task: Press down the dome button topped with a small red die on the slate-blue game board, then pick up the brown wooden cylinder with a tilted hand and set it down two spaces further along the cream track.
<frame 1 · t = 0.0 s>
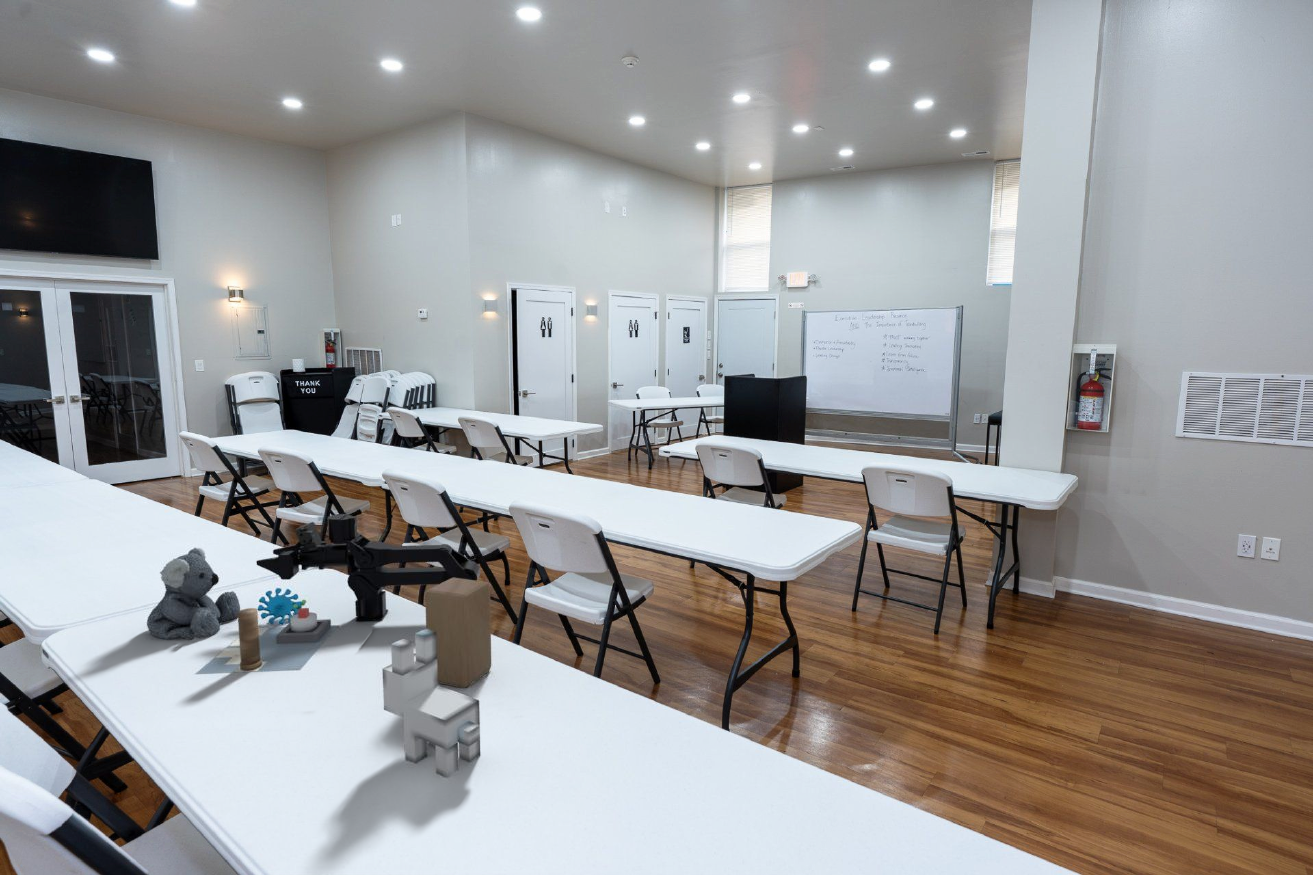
hand: (265, 557, 171), 17 cm above the table, tool horizontal, fingers open, 9 cm apart
brown wooden cylinder: (251, 666, 146), point 1 cm above the table, touching board
board: (273, 650, 156), on the table
toy llama: (437, 755, 117), on the table
blue spiky piece: (283, 620, 174), on the table
dome button: (303, 618, 162), point 5 cm above the table, slide at 0.0 cm
block: (460, 676, 145), on the table
koala plush: (190, 629, 168), on the table
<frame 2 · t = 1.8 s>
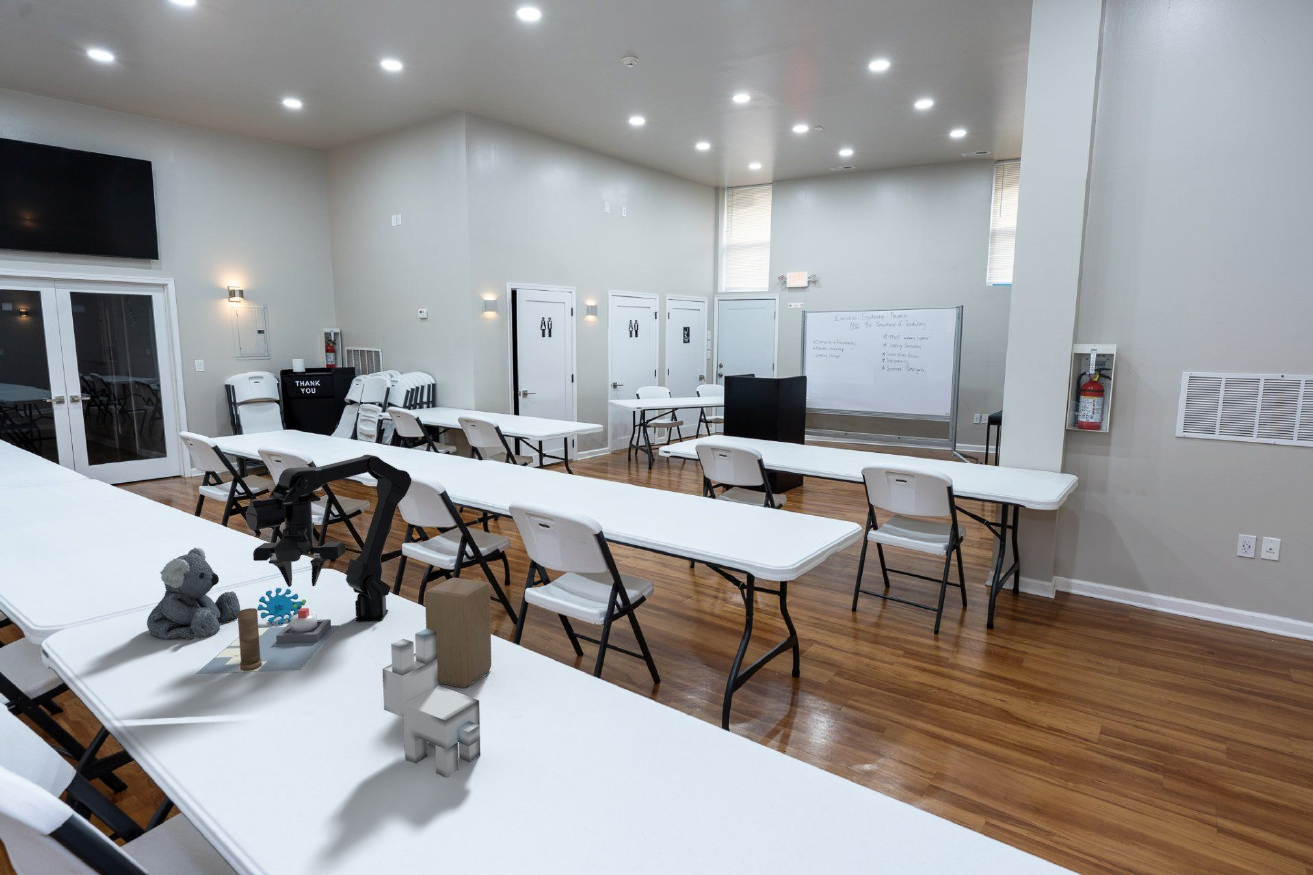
hand: (301, 586, 161), 13 cm above the table, tool pointing down, fingers open, 5 cm apart
nothing on the table moved.
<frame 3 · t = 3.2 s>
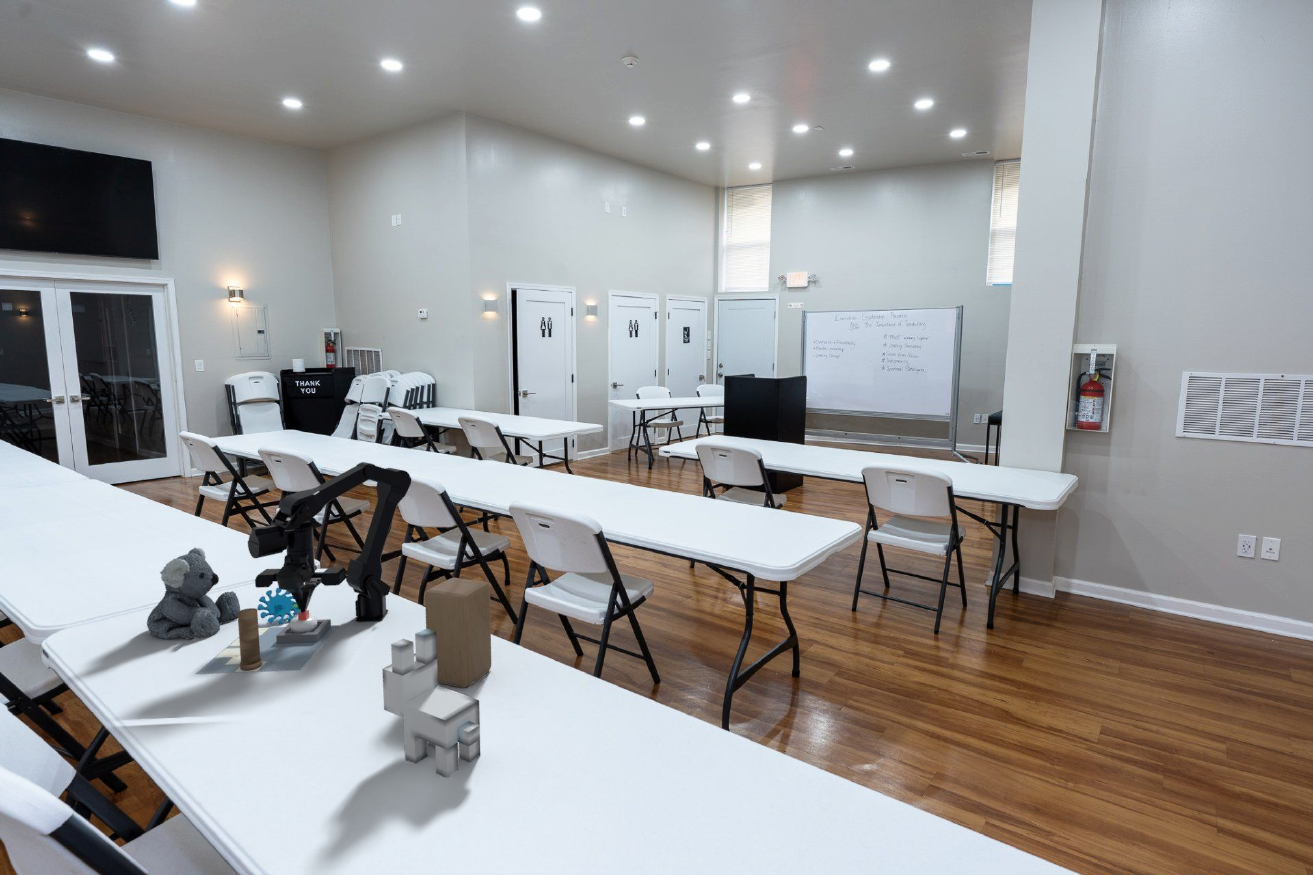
hand: (303, 611, 162), 7 cm above the table, tool pointing down, fingers closed, pressing on dome button
dome button: (303, 620, 162), point 4 cm above the table, slide at 0.6 cm, touching gripper
everything else where it was.
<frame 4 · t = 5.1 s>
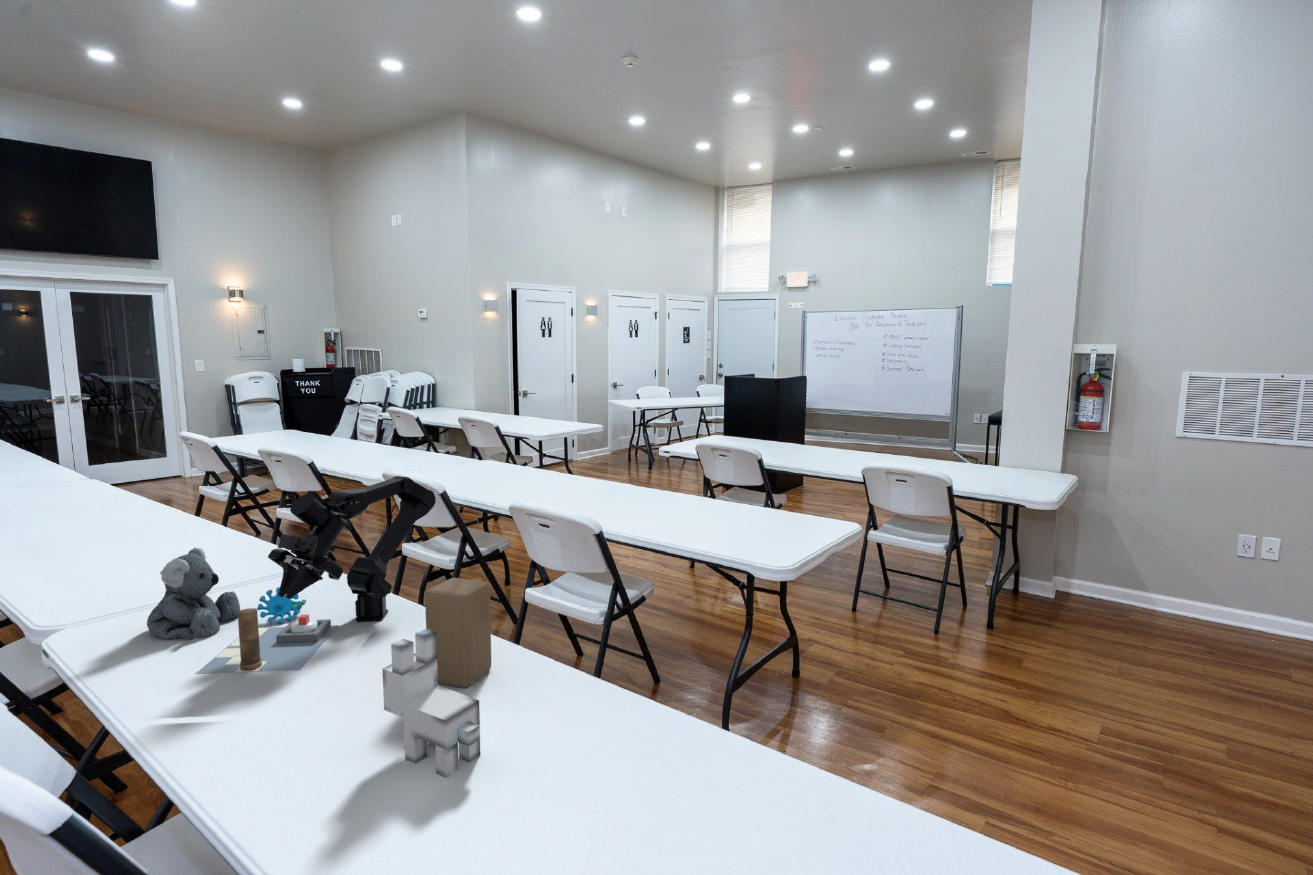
hand: (283, 597, 153), 13 cm above the table, tool tilted 45°, fingers closed
dome button: (304, 624, 162), point 3 cm above the table, slide at 1.6 cm
everything else where it was.
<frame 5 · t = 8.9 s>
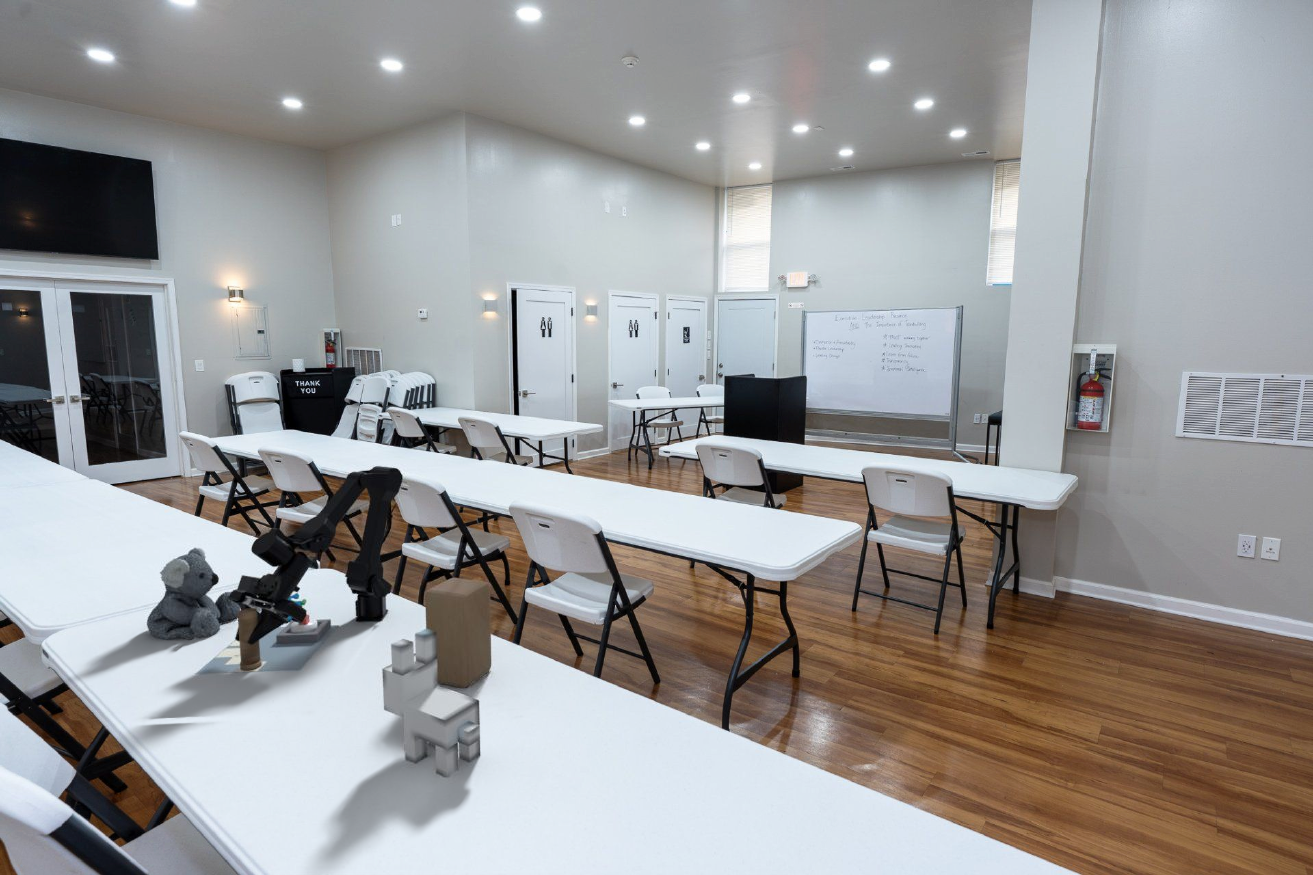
hand: (243, 642, 144), 7 cm above the table, tool tilted 45°, fingers closed on brown wooden cylinder, 4 cm apart
brown wooden cylinder: (251, 666, 146), point 1 cm above the table, touching board, gripper
everything else where it was.
when the fingers open (8 cm above the table, at t = 12.2 s): brown wooden cylinder drops 1 cm, resting on board.
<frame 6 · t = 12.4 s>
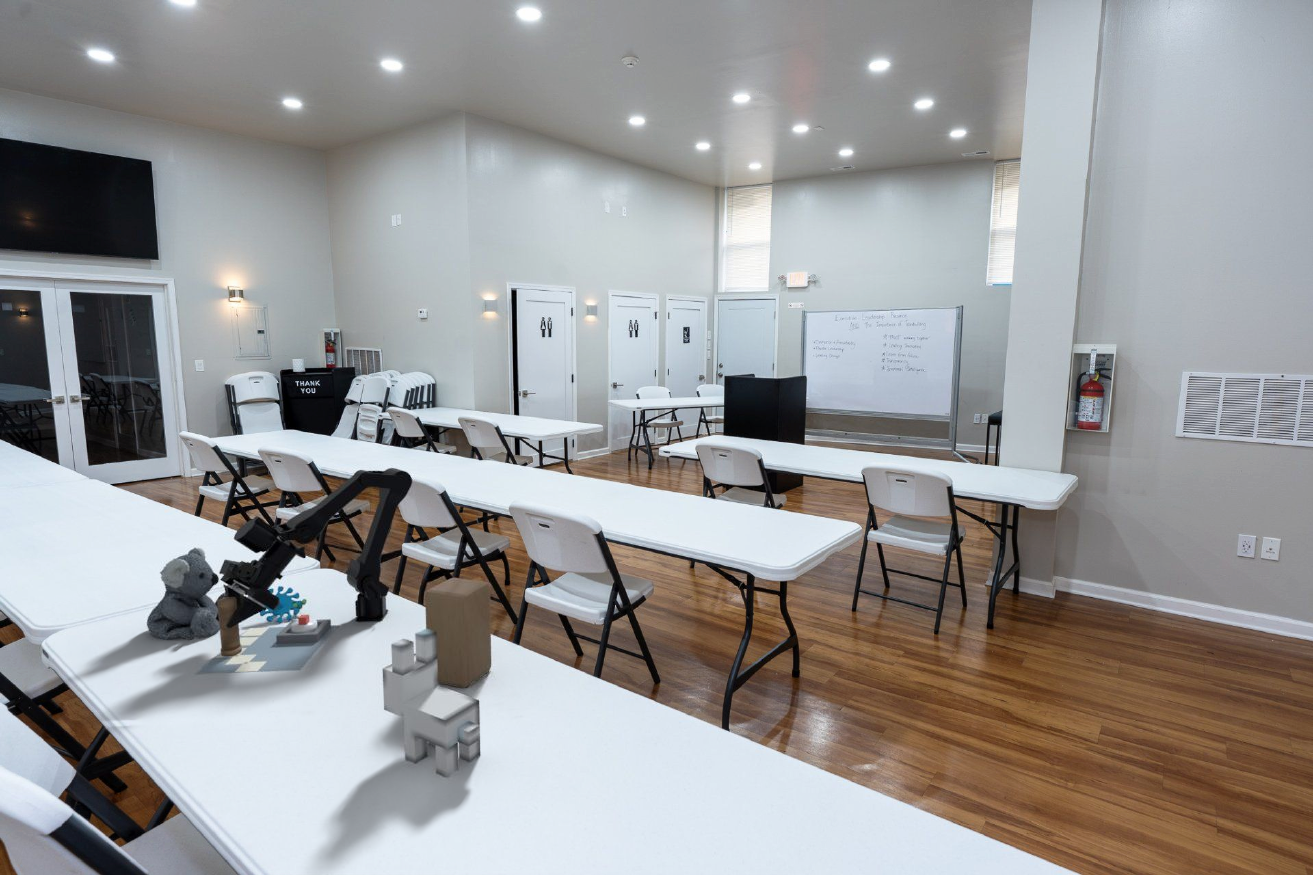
hand: (222, 623, 151), 8 cm above the table, tool tilted 45°, fingers open, 6 cm apart
brown wooden cylinder: (231, 652, 153), point 1 cm above the table, touching board
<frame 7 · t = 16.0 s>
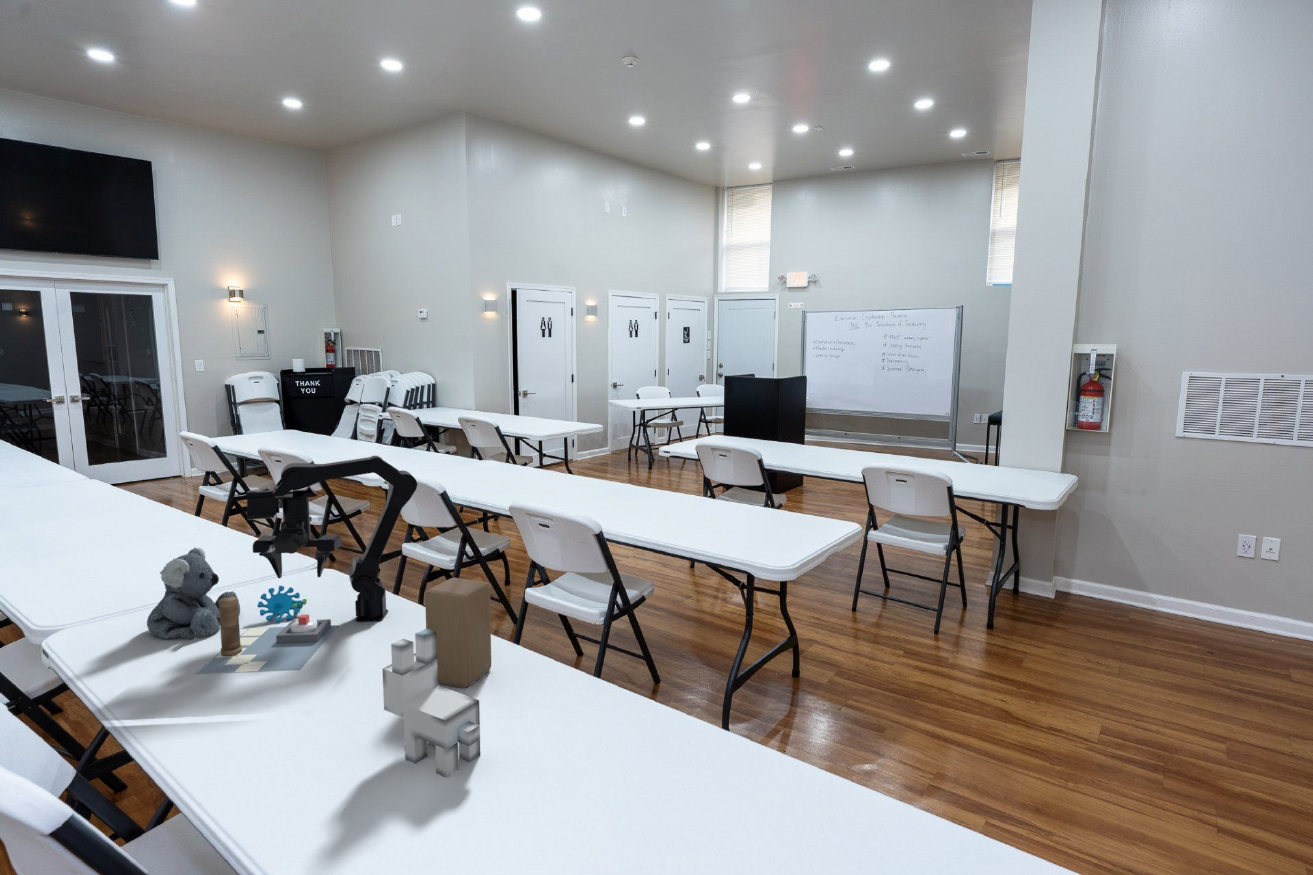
hand: (299, 577, 167), 13 cm above the table, tool pointing down, fingers open, 9 cm apart
at the end: brown wooden cylinder 0.0 cm from the target spot, point 0.8 cm above the table; brown wooden cylinder tilted 1°; dome button slide at 1.6 cm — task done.
